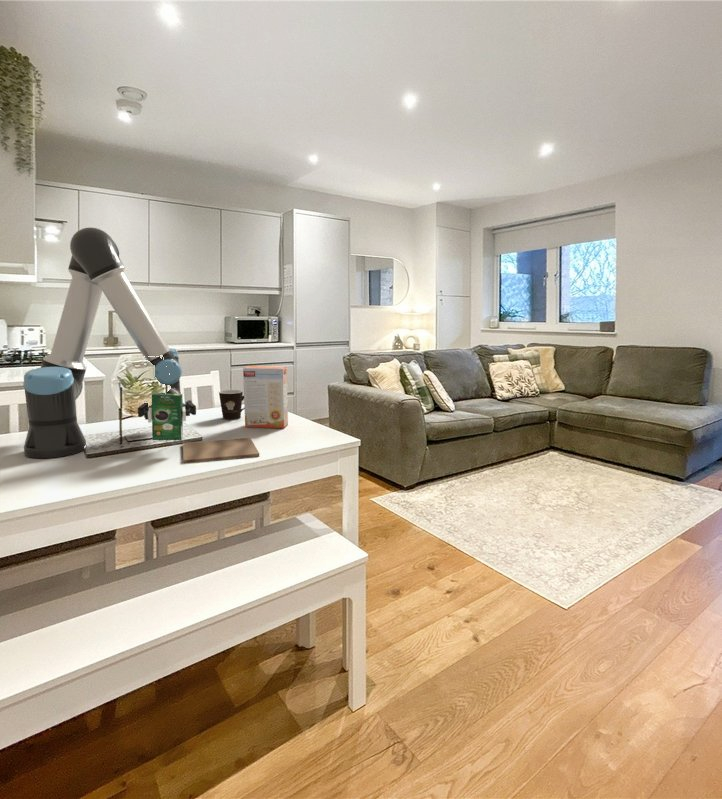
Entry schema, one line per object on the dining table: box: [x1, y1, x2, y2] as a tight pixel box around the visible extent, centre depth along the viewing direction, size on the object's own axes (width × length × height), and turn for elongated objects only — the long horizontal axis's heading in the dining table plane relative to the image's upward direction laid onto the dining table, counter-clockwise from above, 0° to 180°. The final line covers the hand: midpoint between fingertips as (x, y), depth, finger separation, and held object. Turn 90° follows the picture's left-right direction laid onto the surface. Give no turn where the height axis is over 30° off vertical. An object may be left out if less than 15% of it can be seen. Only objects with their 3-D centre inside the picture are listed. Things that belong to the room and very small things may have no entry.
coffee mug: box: [218, 389, 245, 421], centre depth 185 cm, size 12×9×10 cm
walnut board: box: [182, 437, 260, 464], centre depth 144 cm, size 20×18×1 cm
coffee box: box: [151, 392, 184, 441], centre depth 138 cm, size 8×3×13 cm, turn 98°
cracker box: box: [242, 365, 289, 429], centre depth 172 cm, size 14×6×21 cm, turn 84°
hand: (167, 416), depth 134 cm, fingers closed on coffee box, 8 cm apart
